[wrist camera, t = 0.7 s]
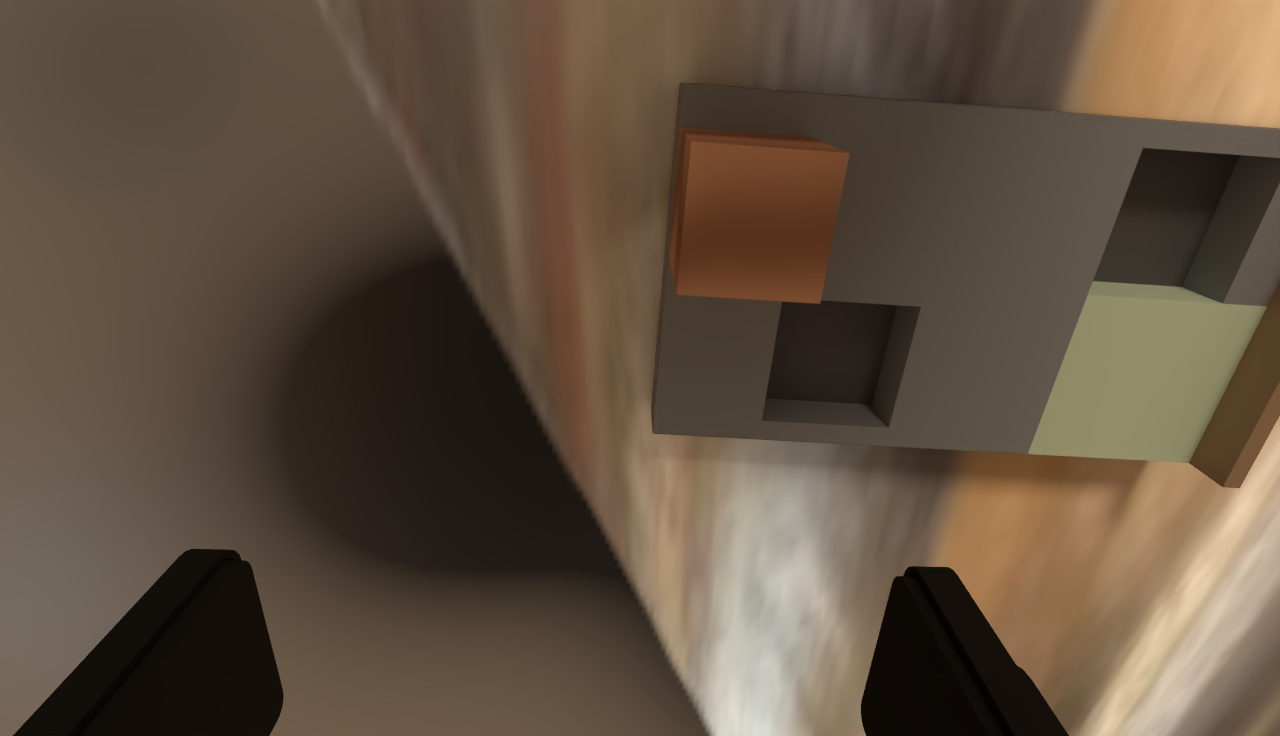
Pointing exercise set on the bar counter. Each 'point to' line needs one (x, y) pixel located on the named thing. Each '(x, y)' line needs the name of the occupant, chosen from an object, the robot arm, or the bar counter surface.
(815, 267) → the block
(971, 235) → the deck
